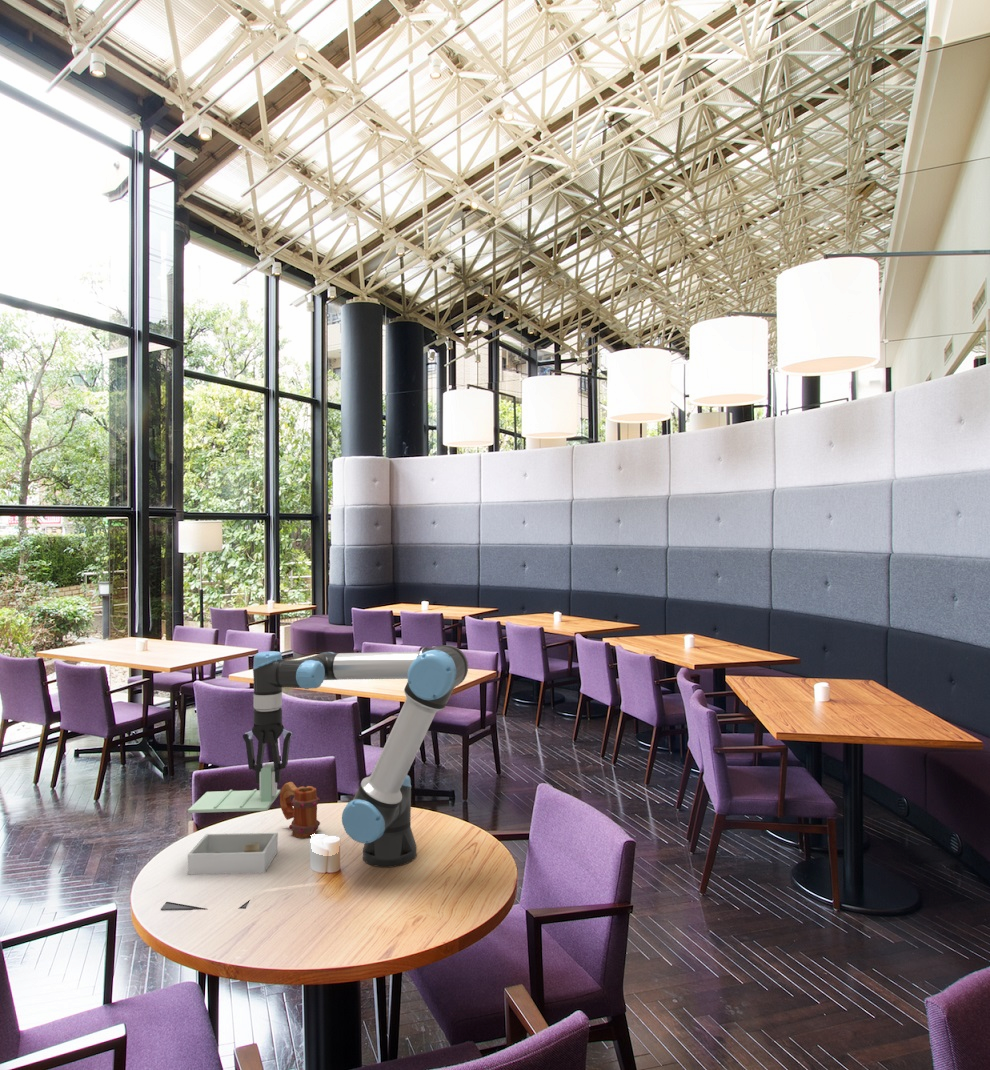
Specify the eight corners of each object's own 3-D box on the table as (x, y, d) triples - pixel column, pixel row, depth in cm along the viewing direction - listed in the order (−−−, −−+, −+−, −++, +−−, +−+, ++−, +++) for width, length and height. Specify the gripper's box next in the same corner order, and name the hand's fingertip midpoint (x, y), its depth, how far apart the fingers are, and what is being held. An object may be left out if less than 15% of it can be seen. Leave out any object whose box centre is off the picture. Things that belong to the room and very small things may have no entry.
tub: (277, 853, 208) (277, 832, 208) (264, 875, 194) (264, 853, 194) (205, 855, 207) (206, 833, 207) (187, 877, 193) (187, 854, 193)
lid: (280, 792, 209) (280, 758, 209) (267, 810, 194) (266, 774, 194) (206, 794, 208) (206, 760, 208) (187, 813, 193) (187, 776, 193)
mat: (261, 880, 192) (261, 878, 192) (245, 908, 177) (245, 906, 177) (184, 881, 191) (184, 880, 191) (160, 910, 176) (160, 908, 176)
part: (259, 854, 206) (259, 843, 206) (259, 860, 202) (259, 849, 202) (244, 856, 205) (244, 845, 205) (243, 862, 201) (243, 851, 201)
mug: (326, 835, 222) (326, 785, 222) (305, 844, 215) (306, 792, 215) (292, 825, 230) (292, 777, 230) (271, 833, 223) (272, 784, 223)
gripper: (299, 704, 206) (300, 789, 205) (242, 706, 205) (243, 790, 205) (293, 710, 198) (294, 798, 198) (234, 712, 198) (235, 799, 197)
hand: (268, 794), depth 201 cm, fingers closed on lid, 3 cm apart
